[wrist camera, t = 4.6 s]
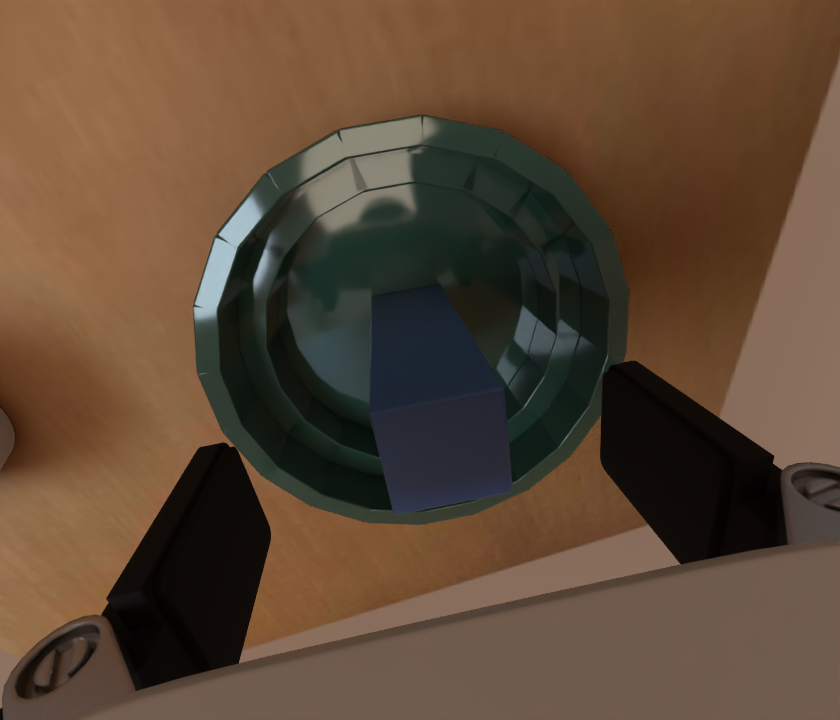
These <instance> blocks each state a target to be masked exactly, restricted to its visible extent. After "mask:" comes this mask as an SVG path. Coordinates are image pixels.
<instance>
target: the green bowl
mask: <svg viewBox="0 0 840 720" xmlns="http://www.w3.org/2000/svg"><path fill="white" fill-rule="evenodd" d="M434 285H441V286H442V288H443V289H444V291H445V293H446V294H447V296H448V298H449V299H450V301H451V303H452V304H453V306H454V308H455V309H456V311H457V312H458V314H459V316H460V317H461V319H462V321H463V322H464V324H465V326H466V327H467V329H468V330H469V332H470V334H471V335H472V337H473V339H474V340H475V342H476V344H477V345H478V347H479V349H480V350H481V352H482V353H483V355H484V357H485V358H486V360H487V362H488V363H489V365H490V367H491V368H492V370H493V371H494V373H495V375H496V376H497V378H498V380H499V381H500V383H501V385H502V386H503V388H504V390H505V402H506V414H507V426H508V438H509V450H510V462H511V474H512V486H513V489H512V492H510V493H505V494H500V495H495V496H490V497H485V498H480V499H475V500H470V501H465V502H460V503H455V504H450V505H445V506H440V507H435V508H430V509H425V510H420V511H415V512H410V513H405V514H400V515H395V514H394V512H393V509H392V505H391V501H390V497H389V493H388V488H387V484H386V480H385V476H384V472H383V468H382V464H381V460H380V456H379V452H378V448H377V444H376V440H375V436H374V432H373V428H372V424H371V420H370V416H369V408H370V334H371V297H374V296H379V295H385V294H390V293H396V292H401V291H406V290H412V289H417V288H423V287H428V286H434ZM629 296H630V294H629V288H628V285H627V281H626V278H625V274H624V271H623V267H622V264H621V260H620V257H619V253H618V250H617V246H616V243H615V239H614V236H613V233H612V230H611V229H610V227H609V225H608V224H607V223H606V221H605V220H604V219H603V217H602V216H601V214H600V213H599V212H598V210H597V209H596V208H595V206H594V205H593V204H592V202H591V201H590V200H589V198H588V197H587V196H586V194H585V193H584V192H583V190H582V189H581V188H580V186H579V185H578V184H577V182H576V181H575V180H574V178H573V177H572V176H571V174H569V173H568V171H567V170H566V169H564V168H562V167H561V166H559V165H558V164H556V163H554V162H553V161H551V160H550V159H548V158H546V157H545V156H543V155H542V154H540V153H539V152H537V151H535V150H534V149H532V148H531V147H529V146H527V145H526V144H524V143H523V142H521V141H519V140H518V139H516V138H515V137H513V136H511V135H510V134H508V133H507V132H503V131H502V130H499V129H494V128H489V127H484V126H479V125H474V124H469V123H464V122H459V121H453V120H448V119H443V118H438V117H433V116H428V115H416V116H410V117H404V118H398V119H393V120H387V121H381V122H375V123H369V124H364V125H358V126H352V127H346V128H340V129H339V130H336V131H334V132H332V133H330V134H329V135H327V136H325V137H323V138H322V139H320V140H318V141H317V142H315V143H313V144H312V145H310V146H308V147H306V148H305V149H303V150H301V151H300V152H298V153H296V154H295V155H293V156H291V157H289V158H288V159H286V160H284V161H283V162H281V163H279V164H278V165H276V166H274V167H272V168H271V169H269V170H268V171H267V172H266V173H265V174H263V175H262V176H261V178H260V179H259V180H258V181H257V183H256V184H255V185H254V186H253V188H252V189H251V190H250V192H249V193H248V194H247V195H246V197H245V198H244V199H243V200H242V202H241V203H240V204H239V205H238V207H237V208H236V209H235V210H234V212H233V213H232V214H231V215H230V217H229V218H228V219H227V220H226V222H225V223H224V224H223V225H222V227H221V228H220V229H219V230H218V232H217V235H215V236H214V239H213V243H212V246H211V249H210V252H209V255H208V259H207V262H206V265H205V268H204V271H203V274H202V278H201V281H200V284H199V287H198V290H197V294H196V297H195V300H194V305H193V316H194V333H195V349H196V366H197V373H198V377H199V379H200V382H201V384H202V386H203V388H204V391H205V393H206V395H207V398H208V400H209V402H210V405H211V407H212V409H213V412H214V414H215V416H216V419H217V421H218V423H219V426H220V428H221V430H222V431H223V433H224V434H225V436H226V437H227V438H228V439H229V440H230V441H231V442H232V443H233V444H234V446H235V447H236V448H237V449H238V450H239V451H240V452H241V453H242V455H243V456H244V457H245V458H246V459H247V460H248V461H249V462H250V464H251V465H252V466H253V467H254V468H255V469H256V470H257V471H258V472H259V474H260V475H261V476H263V477H264V478H266V479H267V480H269V481H270V482H272V483H274V484H275V485H277V486H279V487H280V488H282V489H283V490H285V491H287V492H288V493H290V494H292V495H293V496H295V497H296V498H298V499H300V500H301V501H303V502H305V503H306V504H308V505H309V506H313V507H315V508H318V509H322V510H325V511H328V512H332V513H335V514H339V515H342V516H345V517H349V518H352V519H356V520H359V521H362V522H366V521H367V523H384V524H410V525H421V524H429V523H434V522H439V521H444V520H449V519H454V518H459V517H464V516H469V515H474V514H476V513H479V512H481V511H484V510H486V509H488V508H490V507H492V506H494V505H497V504H499V503H501V502H503V501H505V500H507V499H510V498H512V497H514V496H516V495H518V494H520V493H523V492H525V491H526V490H529V489H530V488H531V487H533V486H534V485H535V484H536V483H538V482H539V481H540V480H541V479H543V478H544V477H545V476H546V475H548V474H549V473H550V472H551V471H553V470H554V469H555V468H556V467H558V466H559V465H560V464H561V463H563V462H564V461H565V460H566V459H568V458H569V457H570V455H572V454H573V452H574V451H575V450H576V448H577V447H578V446H579V444H580V443H581V442H582V440H583V439H584V438H585V436H586V435H587V434H588V432H589V431H590V430H591V428H592V427H593V426H594V424H595V423H596V421H597V420H598V419H599V417H600V416H601V411H602V378H603V374H604V373H605V372H607V371H608V369H609V367H610V366H611V365H614V364H619V363H623V361H624V359H625V354H626V350H627V332H628V314H629Z"/></svg>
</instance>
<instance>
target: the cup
mask: <svg viewBox="0 0 840 720" xmlns="http://www.w3.org/2000/svg"><path fill="white" fill-rule="evenodd" d="M14 444H15V433H14V429H13V426H12V424H11V422H10V420H9V418H8V417H7V415H6V414H5V413H4V411H3V410H2V409H1V408H0V470H1V468H2V467H3V465H4V463H5V462H6V460H7V459H8V457H9V455H10V454H11V452H12V450H13V448H14Z"/></svg>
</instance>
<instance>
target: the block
mask: <svg viewBox="0 0 840 720" xmlns="http://www.w3.org/2000/svg"><path fill="white" fill-rule="evenodd" d="M369 416H370V420H371V424H372V428H373V432H374V436H375V440H376V444H377V448H378V452H379V456H380V460H381V464H382V468H383V472H384V476H385V480H386V484H387V488H388V493H389V497H390V501H391V505H392V509H393V512H394V514H395V515H400V514H405V513H410V512H415V511H420V510H425V509H430V508H435V507H440V506H445V505H450V504H455V503H460V502H465V501H470V500H475V499H480V498H485V497H490V496H495V495H500V494H505V493H510V492H512V489H513V486H512V474H511V462H510V450H509V438H508V426H507V414H506V402H505V390H504V388H503V386H502V385H501V383H500V381H499V380H498V378H497V376H496V375H495V373H494V371H493V370H492V368H491V367H490V365H489V363H488V362H487V360H486V358H485V357H484V355H483V353H482V352H481V350H480V349H479V347H478V345H477V344H476V342H475V340H474V339H473V337H472V335H471V334H470V332H469V330H468V329H467V327H466V326H465V324H464V322H463V321H462V319H461V317H460V316H459V314H458V312H457V311H456V309H455V308H454V306H453V304H452V303H451V301H450V299H449V298H448V296H447V294H446V293H445V291H444V289H443V288H442V286H441V285H434V286H428V287H423V288H417V289H412V290H406V291H401V292H396V293H390V294H385V295H379V296H374V297H371V334H370V408H369Z"/></svg>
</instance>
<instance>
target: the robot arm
mask: <svg viewBox="0 0 840 720" xmlns="http://www.w3.org/2000/svg"><path fill="white" fill-rule="evenodd" d="M600 459H601V463H602V466H603V468H604V470H605V471H606V473H607V474H608V475H609V476H610V477H611V479H612V480H613V481H614V482H615V484H616V485H617V486H618V487H619V489H620V490H621V491H622V492H623V494H624V495H625V496H626V497H627V498H628V500H629V501H630V502H631V503H632V505H633V506H634V507H635V508H636V510H637V511H638V512H639V513H640V515H641V516H642V517H643V518H644V519H645V521H646V522H647V523H648V524H649V526H650V527H651V528H652V529H653V531H654V532H655V533H656V534H657V535H658V537H659V538H660V539H661V541H662V542H663V543H664V544H665V545H666V547H667V548H668V549H669V550H670V552H671V553H672V554H673V555H674V556H675V558H676V559H677V560H678V562H679V563H680V564H681V565H677V566H671V567H667V568H662V569H658V570H653V571H649V572H644V573H639V574H634V575H630V576H625V577H621V578H616V579H611V580H607V581H602V582H597V583H593V584H588V585H584V586H579V587H574V588H570V589H565V590H560V591H556V592H551V593H547V594H542V595H538V596H533V597H529V598H524V599H520V600H515V601H511V602H506V603H502V604H497V605H492V606H488V607H483V608H479V609H474V610H470V611H466V612H461V613H457V614H452V615H448V616H444V617H439V618H434V619H430V620H425V621H421V622H417V623H412V624H407V625H403V626H398V627H394V628H390V629H385V630H381V631H377V632H372V633H368V634H364V635H359V636H355V637H350V638H346V639H342V640H337V641H333V642H328V643H324V644H320V645H315V646H311V647H307V648H302V649H298V650H294V651H289V652H285V653H280V654H276V655H272V656H268V657H263V658H259V659H256V660H251V661H247V662H243V663H239V660H240V656H241V653H242V649H243V645H244V641H245V637H246V633H247V630H248V626H249V622H250V618H251V614H252V610H253V607H254V603H255V599H256V595H257V591H258V587H259V584H260V580H261V576H262V572H263V568H264V564H265V560H266V557H267V553H268V549H269V545H270V541H271V530H270V526H269V524H268V521H267V519H266V516H265V514H264V512H263V509H262V507H261V505H260V502H259V500H258V497H257V495H256V493H255V490H254V488H253V486H252V483H251V481H250V479H249V476H248V474H247V471H246V469H245V467H244V464H243V462H242V460H241V457H240V455H239V452H238V450H237V449H236V448H235V447H229V445H228V444H227V443H219V444H214V445H209V446H204V447H200V448H199V449H198V450H197V451H196V453H195V455H194V456H193V458H192V459H191V461H190V463H189V464H188V466H187V468H186V469H185V471H184V473H183V474H182V476H181V477H180V479H179V481H178V482H177V484H176V486H175V487H174V489H173V490H172V492H171V494H170V495H169V497H168V499H167V500H166V502H165V503H164V505H163V507H162V508H161V510H160V512H159V513H158V515H157V517H156V518H155V520H154V521H153V523H152V525H151V526H150V528H149V530H148V531H147V533H146V534H145V536H144V538H143V539H142V541H141V543H140V544H139V546H138V547H137V549H136V551H135V552H134V554H133V556H132V557H131V559H130V561H129V562H128V564H127V565H126V567H125V569H124V570H123V572H122V574H121V575H120V577H119V578H118V580H117V582H116V583H115V585H114V587H113V588H112V590H111V591H110V593H109V595H108V596H107V598H106V599H107V600H108V602H109V603H108V605H107V606H106V608H105V610H104V611H103V613H102V615H101V616H100V615H89V616H83V617H80V618H78V619H75V620H73V621H70V622H68V623H66V624H64V625H63V626H61V627H59V628H57V629H56V630H54V631H53V632H51V633H50V634H49V635H47V636H46V637H45V638H43V639H42V640H41V641H39V642H38V643H37V644H36V645H35V646H34V647H33V648H32V649H31V650H30V651H29V652H28V653H27V654H26V655H25V656H24V657H23V658H22V659H21V660H20V662H19V663H18V664H17V665H16V667H15V668H14V669H13V671H12V672H11V674H10V676H9V678H8V680H7V682H6V684H5V685H4V690H3V695H2V708H1V709H0V720H840V467H836V466H832V465H828V464H821V463H812V462H810V463H796V464H793V465H790V466H787V467H786V468H785V469H784V470H781V469H780V468H778V467H777V466H775V465H774V464H773V460H774V455H772V454H771V453H769V452H768V451H766V450H765V449H763V448H762V447H761V446H759V445H758V444H756V443H755V442H753V441H752V440H750V439H749V438H747V437H746V436H744V435H743V434H742V433H740V432H739V431H737V430H736V429H734V428H733V427H731V426H730V425H728V424H727V423H725V422H724V421H723V420H721V419H720V418H718V417H717V416H715V415H714V414H713V413H711V412H710V411H708V410H707V409H705V408H704V407H702V406H701V405H699V404H698V403H697V402H695V401H694V400H692V399H691V398H689V397H688V396H686V395H685V394H683V393H682V392H681V391H679V390H678V389H676V388H675V387H673V386H672V385H670V384H669V383H667V382H666V381H665V380H663V379H662V378H660V377H659V376H657V375H656V374H654V373H653V372H651V371H650V370H649V369H647V368H646V367H644V366H643V365H641V364H640V363H638V362H636V361H629V362H624V363H619V364H614V365H611V366H610V367H609V369H608V371H607V372H605V373H604V374H603V378H602V411H601V445H600Z"/></svg>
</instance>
